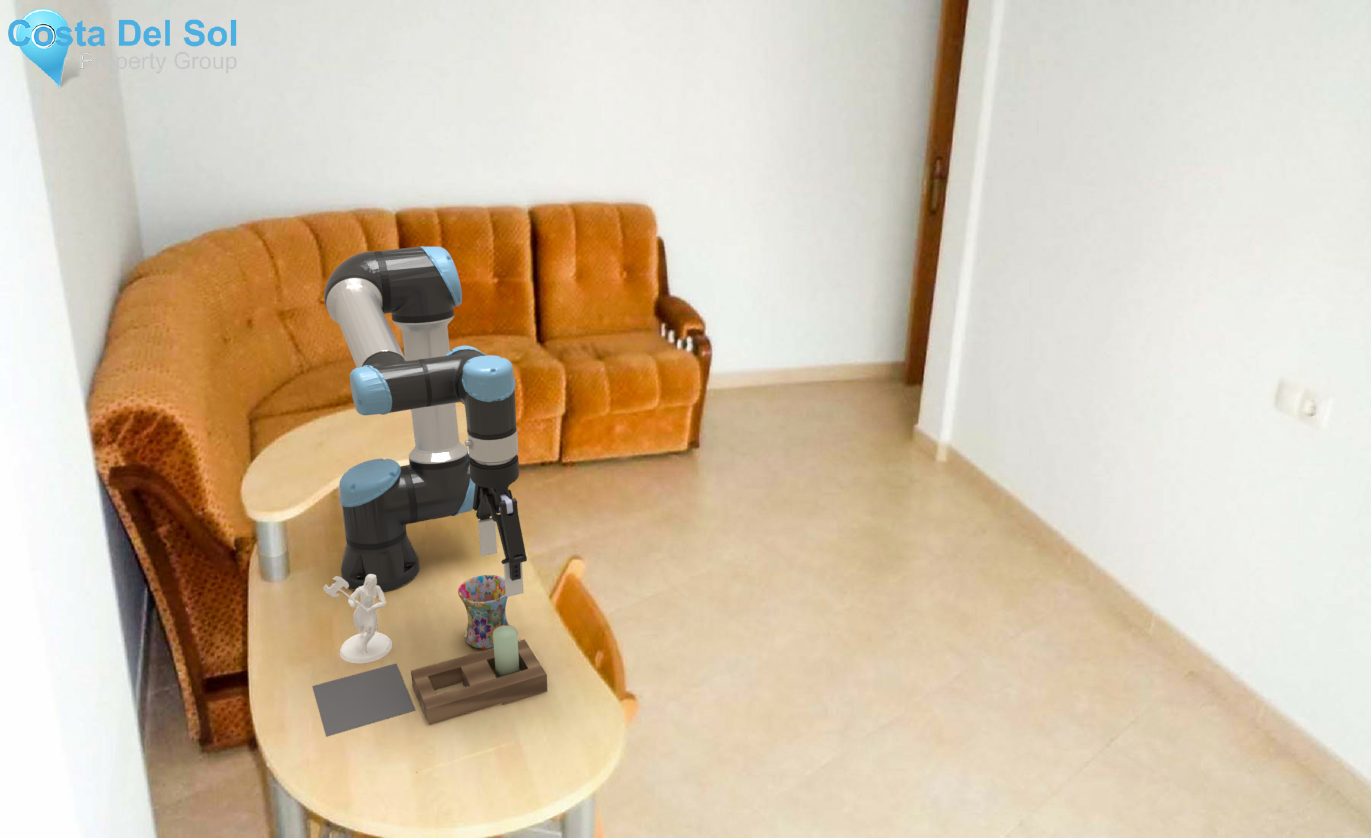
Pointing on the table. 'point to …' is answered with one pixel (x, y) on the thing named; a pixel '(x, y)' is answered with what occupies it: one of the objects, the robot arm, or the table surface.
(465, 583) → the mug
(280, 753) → the table surface
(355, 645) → the figurine
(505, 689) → the walnut hole block
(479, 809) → the table surface
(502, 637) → the sage peg
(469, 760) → the table surface
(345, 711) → the rubber mat
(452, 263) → the robot arm
